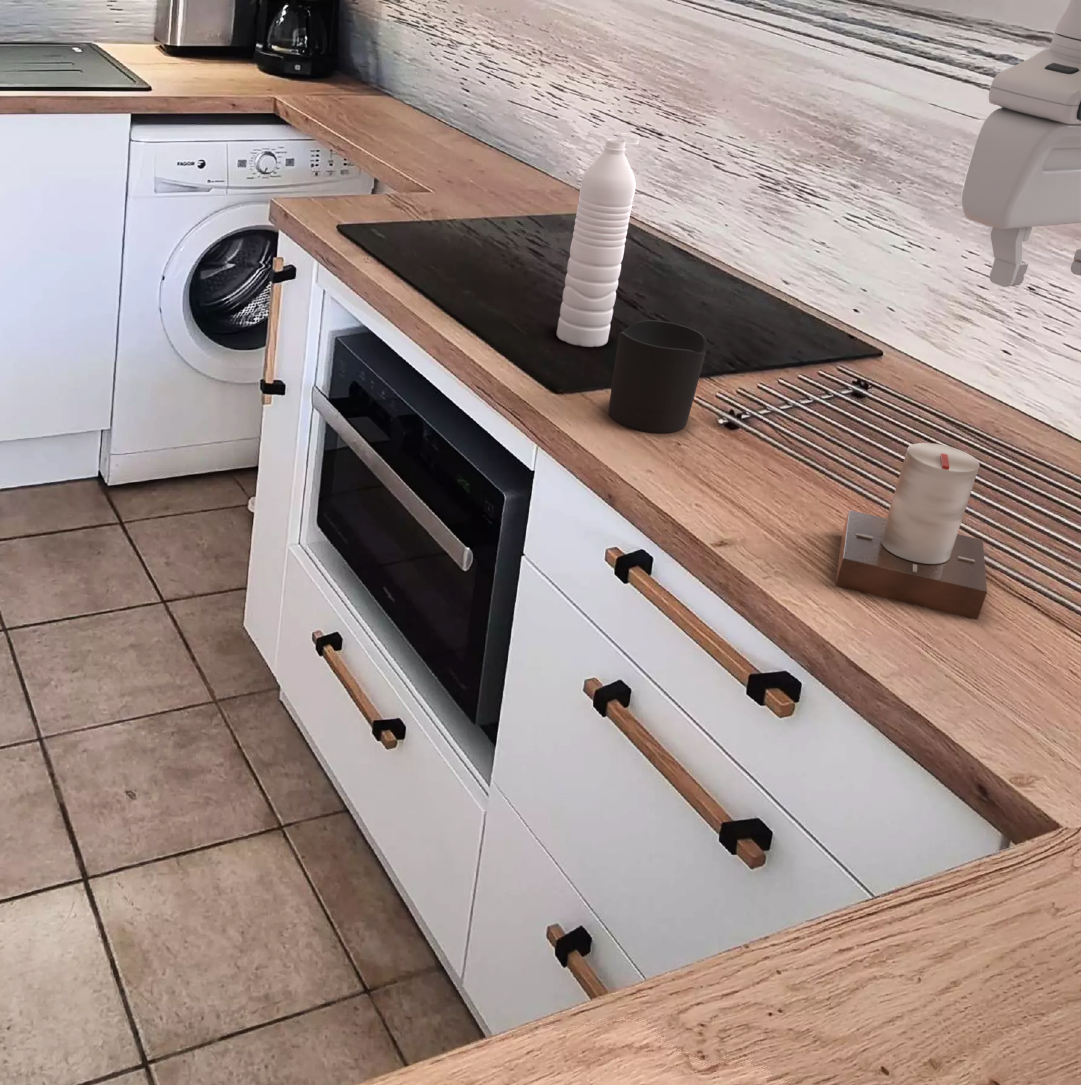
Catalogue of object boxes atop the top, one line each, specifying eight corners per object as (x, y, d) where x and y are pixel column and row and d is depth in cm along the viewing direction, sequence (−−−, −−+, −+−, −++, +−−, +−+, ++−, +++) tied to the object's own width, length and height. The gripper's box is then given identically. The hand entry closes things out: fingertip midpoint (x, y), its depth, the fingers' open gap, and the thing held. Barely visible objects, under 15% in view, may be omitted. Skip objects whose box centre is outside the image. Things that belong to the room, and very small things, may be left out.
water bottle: (595, 352, 176) (631, 148, 165) (547, 339, 179) (580, 137, 167) (622, 335, 183) (658, 138, 171) (575, 323, 186) (608, 128, 174)
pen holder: (705, 435, 155) (724, 348, 150) (628, 439, 152) (646, 350, 147) (663, 402, 163) (680, 319, 158) (589, 405, 160) (605, 320, 155)
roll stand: (973, 568, 132) (983, 538, 130) (977, 621, 123) (987, 590, 121) (841, 537, 135) (849, 508, 134) (834, 588, 126) (843, 556, 124)
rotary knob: (879, 527, 131) (907, 434, 126) (948, 541, 129) (978, 448, 125) (881, 555, 125) (909, 459, 121) (951, 570, 124) (983, 473, 120)
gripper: (1156, 77, 106) (1094, 258, 112) (976, 77, 96) (919, 276, 102) (1237, 94, 101) (1168, 282, 107) (1057, 96, 91) (992, 304, 97)
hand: (1045, 279), depth 105 cm, fingers open, 8 cm apart
